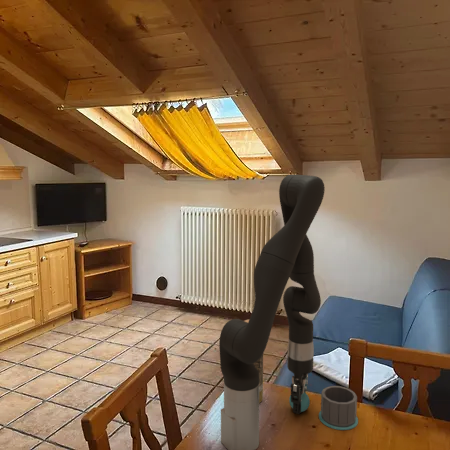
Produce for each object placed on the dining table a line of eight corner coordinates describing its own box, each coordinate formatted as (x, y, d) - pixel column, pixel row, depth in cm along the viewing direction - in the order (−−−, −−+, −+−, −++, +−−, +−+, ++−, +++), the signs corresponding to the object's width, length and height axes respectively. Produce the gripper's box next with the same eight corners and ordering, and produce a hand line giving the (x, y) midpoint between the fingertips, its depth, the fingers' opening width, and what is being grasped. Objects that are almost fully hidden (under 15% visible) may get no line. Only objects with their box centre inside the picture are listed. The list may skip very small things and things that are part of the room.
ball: (297, 418, 124) (298, 399, 123) (284, 408, 129) (285, 389, 129) (313, 412, 127) (314, 393, 126) (300, 402, 132) (300, 384, 131)
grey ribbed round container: (338, 434, 117) (339, 409, 116) (310, 414, 126) (311, 391, 125) (366, 422, 122) (367, 398, 121) (338, 403, 132) (339, 381, 130)
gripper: (308, 366, 118) (307, 423, 120) (317, 346, 131) (316, 397, 133) (281, 362, 121) (281, 417, 123) (293, 342, 134) (292, 392, 136)
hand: (299, 406), depth 128 cm, fingers closed on ball, 6 cm apart
